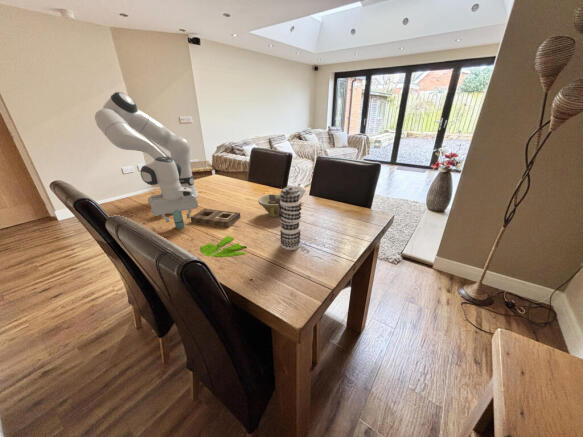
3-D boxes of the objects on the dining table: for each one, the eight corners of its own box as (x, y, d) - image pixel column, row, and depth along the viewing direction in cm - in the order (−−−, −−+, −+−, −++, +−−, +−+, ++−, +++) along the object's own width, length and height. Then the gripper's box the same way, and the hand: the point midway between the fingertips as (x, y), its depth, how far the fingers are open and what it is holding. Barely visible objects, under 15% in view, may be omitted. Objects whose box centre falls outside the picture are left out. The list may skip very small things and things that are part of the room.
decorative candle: (282, 251, 95) (280, 193, 85) (277, 240, 104) (275, 186, 93) (303, 248, 98) (304, 191, 87) (297, 237, 106) (297, 184, 95)
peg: (173, 228, 116) (169, 209, 111) (179, 224, 119) (175, 206, 115) (180, 229, 114) (176, 210, 110) (186, 225, 118) (182, 207, 114)
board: (191, 222, 121) (190, 216, 120) (205, 213, 132) (204, 208, 131) (228, 227, 116) (228, 221, 114) (240, 217, 126) (239, 212, 125)
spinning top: (298, 198, 153) (298, 180, 148) (307, 200, 149) (308, 182, 144) (290, 201, 148) (290, 183, 143) (300, 204, 143) (300, 185, 138)
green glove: (193, 249, 99) (191, 244, 98) (237, 231, 113) (236, 227, 112) (216, 270, 86) (215, 264, 85) (263, 247, 100) (263, 242, 99)
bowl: (288, 223, 120) (288, 205, 116) (255, 220, 123) (253, 203, 119) (294, 209, 136) (294, 194, 132) (265, 207, 139) (264, 192, 135)
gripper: (146, 198, 102) (154, 226, 108) (195, 191, 111) (200, 217, 117) (146, 194, 107) (154, 221, 113) (193, 187, 116) (198, 213, 122)
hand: (178, 219), depth 115 cm, fingers open, 8 cm apart
